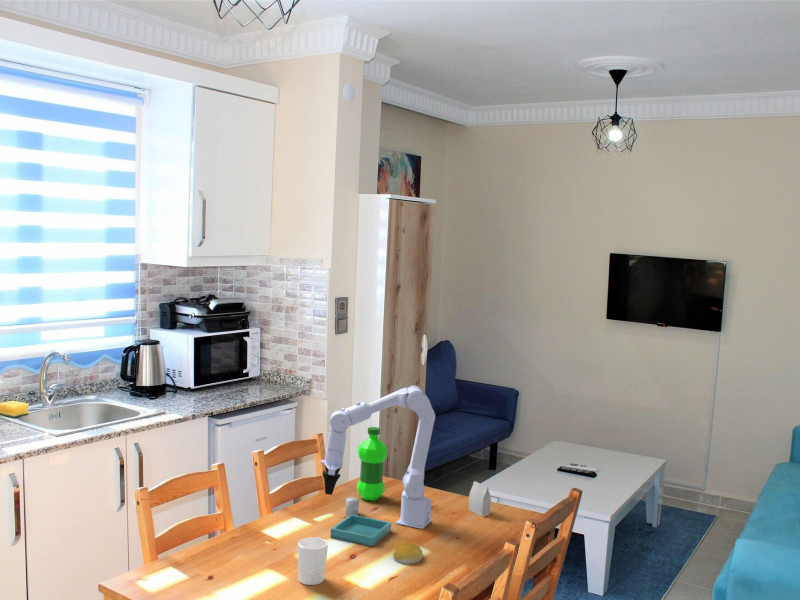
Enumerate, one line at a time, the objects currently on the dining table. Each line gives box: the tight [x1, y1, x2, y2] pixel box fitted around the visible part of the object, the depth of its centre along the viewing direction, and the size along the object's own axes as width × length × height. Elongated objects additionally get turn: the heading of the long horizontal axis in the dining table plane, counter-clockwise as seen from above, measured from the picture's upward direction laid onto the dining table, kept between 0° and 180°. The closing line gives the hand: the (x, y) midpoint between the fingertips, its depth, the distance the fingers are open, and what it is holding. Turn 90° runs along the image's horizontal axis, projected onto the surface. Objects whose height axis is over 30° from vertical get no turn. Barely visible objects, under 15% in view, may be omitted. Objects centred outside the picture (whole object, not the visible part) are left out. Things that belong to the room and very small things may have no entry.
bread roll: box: [392, 541, 424, 565], centre depth 217 cm, size 8×9×4 cm
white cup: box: [297, 536, 329, 586], centre depth 200 cm, size 8×8×10 cm
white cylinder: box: [344, 496, 360, 517], centre depth 249 cm, size 4×4×5 cm
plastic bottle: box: [356, 426, 389, 502], centre depth 264 cm, size 10×10×25 cm
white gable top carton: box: [468, 481, 492, 517], centre depth 256 cm, size 4×7×10 cm, turn 37°
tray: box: [330, 514, 392, 547], centre depth 233 cm, size 14×14×3 cm
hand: (329, 490), depth 241 cm, fingers open, 7 cm apart
